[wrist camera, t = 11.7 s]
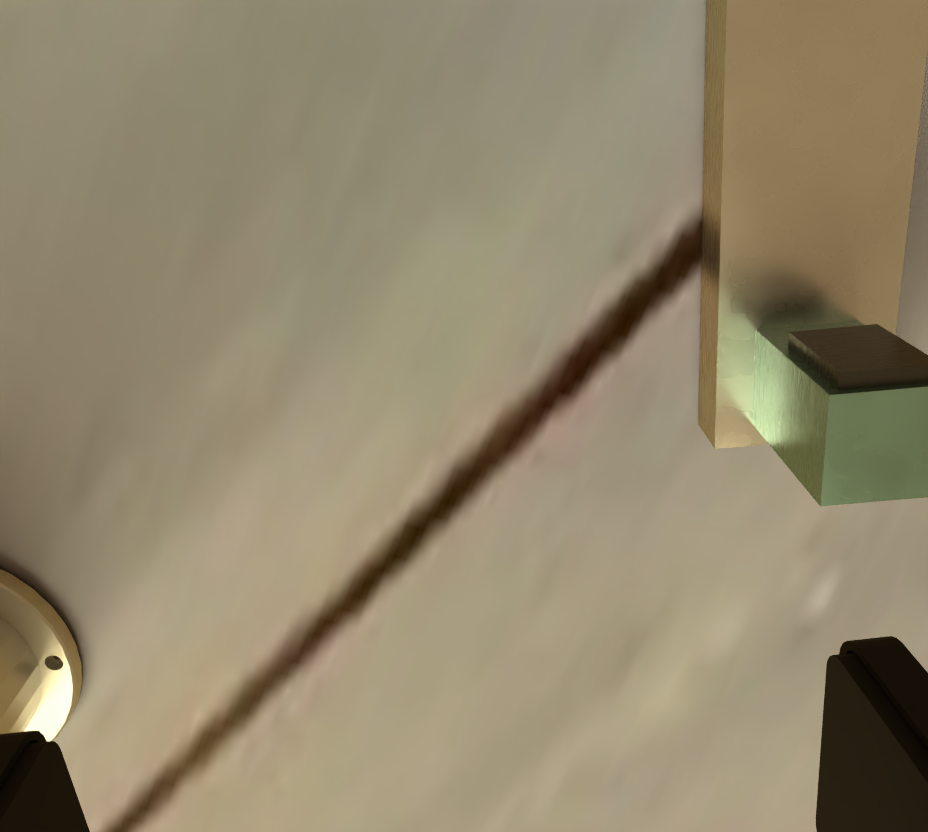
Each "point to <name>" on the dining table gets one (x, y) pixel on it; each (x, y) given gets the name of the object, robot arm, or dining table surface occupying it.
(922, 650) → the dining table surface
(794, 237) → the rail
